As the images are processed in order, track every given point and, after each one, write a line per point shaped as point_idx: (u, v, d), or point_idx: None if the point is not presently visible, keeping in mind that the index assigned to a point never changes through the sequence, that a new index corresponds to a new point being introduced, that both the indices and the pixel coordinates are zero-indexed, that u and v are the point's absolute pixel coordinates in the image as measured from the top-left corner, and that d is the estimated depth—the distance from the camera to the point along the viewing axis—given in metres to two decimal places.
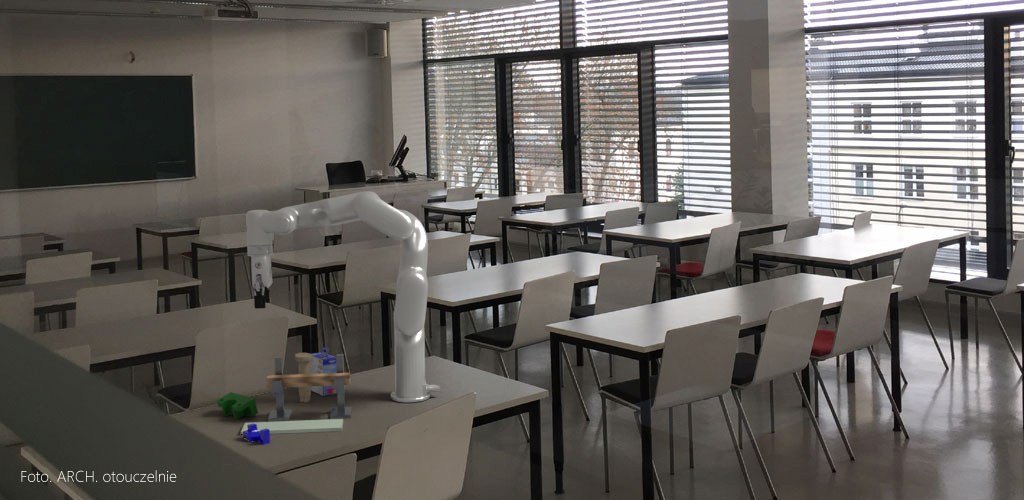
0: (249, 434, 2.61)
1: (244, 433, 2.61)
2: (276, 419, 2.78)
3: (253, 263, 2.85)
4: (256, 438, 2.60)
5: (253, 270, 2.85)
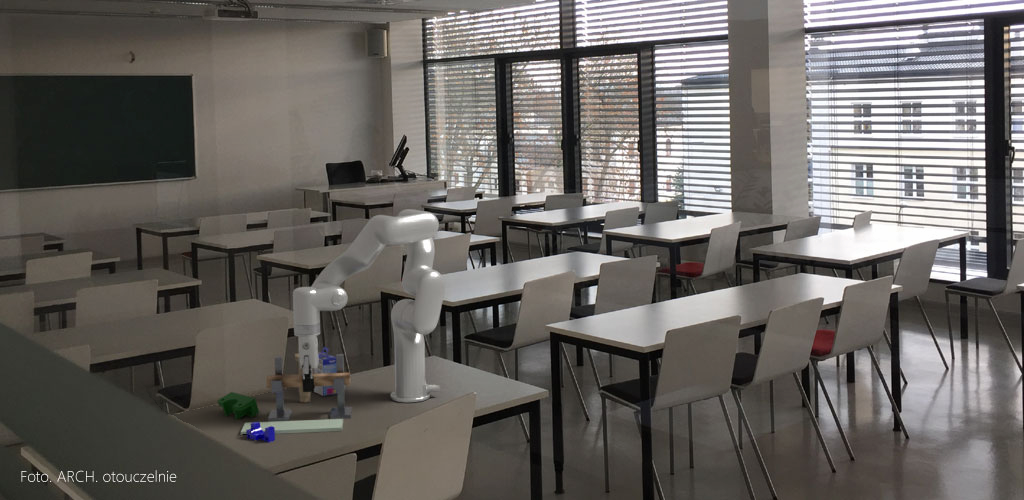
0: (253, 432, 2.62)
1: (248, 432, 2.62)
2: (276, 419, 2.78)
3: (300, 344, 2.73)
4: (261, 436, 2.61)
5: (300, 351, 2.73)
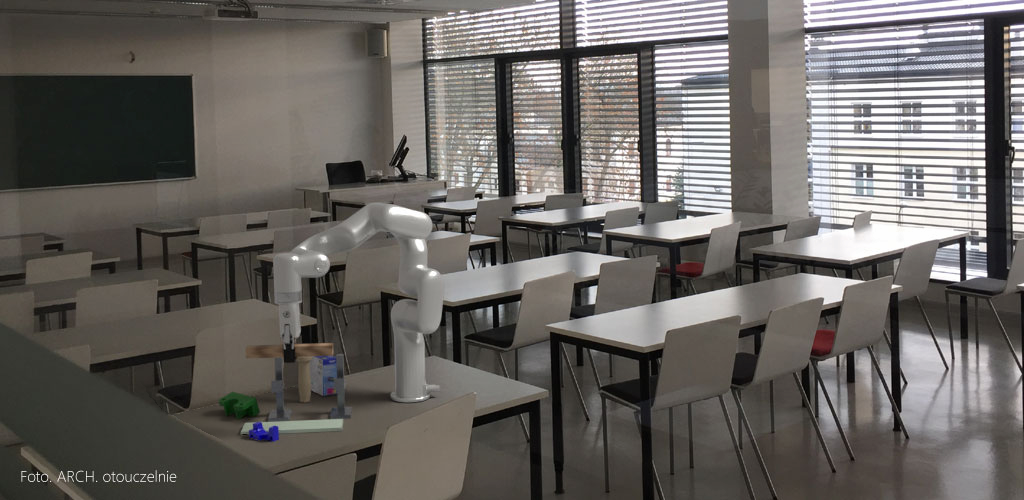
0: (256, 432, 2.62)
1: (251, 432, 2.62)
2: (276, 419, 2.78)
3: (281, 312, 2.62)
4: (264, 436, 2.62)
5: (281, 319, 2.62)
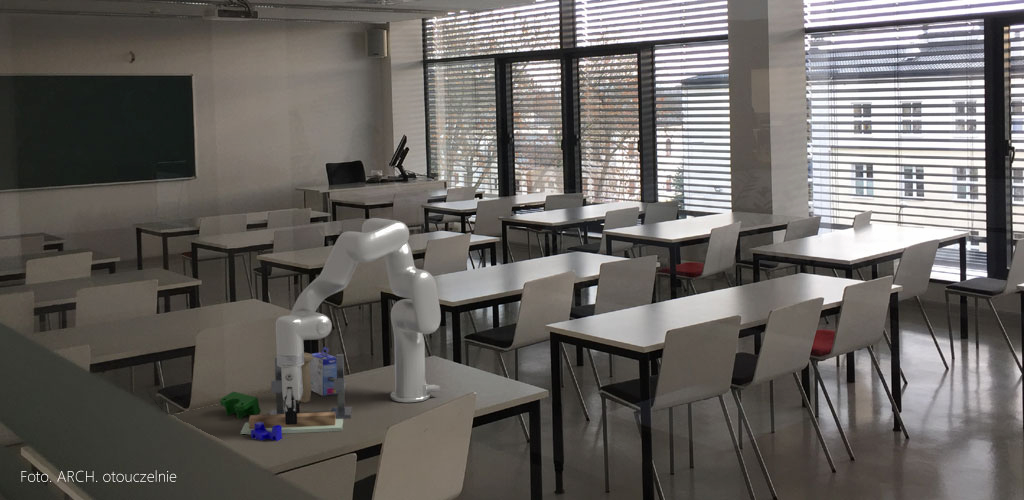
0: (259, 432, 2.62)
1: (253, 432, 2.62)
2: None
3: (283, 375, 2.64)
4: (267, 436, 2.62)
5: (283, 382, 2.64)
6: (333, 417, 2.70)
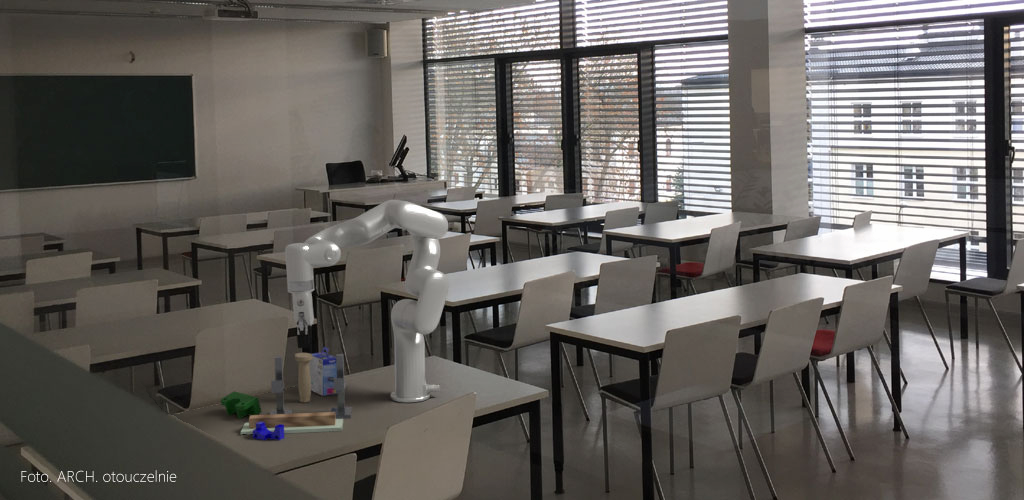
0: (261, 432, 2.62)
1: (255, 432, 2.62)
2: None
3: (295, 300, 2.69)
4: (269, 435, 2.62)
5: (295, 308, 2.69)
6: (333, 417, 2.70)
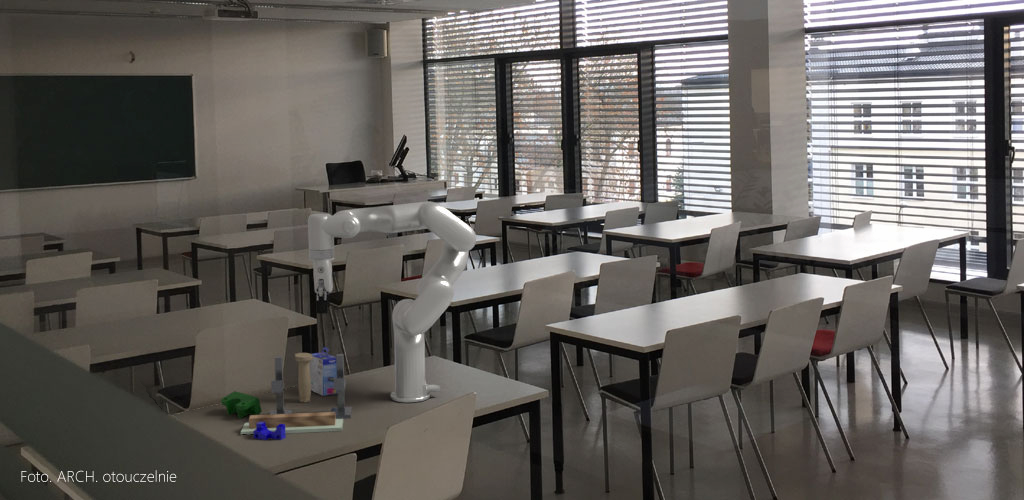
0: (262, 432, 2.62)
1: (256, 432, 2.62)
2: None
3: (315, 268, 2.82)
4: (270, 435, 2.63)
5: (315, 275, 2.82)
6: (333, 417, 2.70)
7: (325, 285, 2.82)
